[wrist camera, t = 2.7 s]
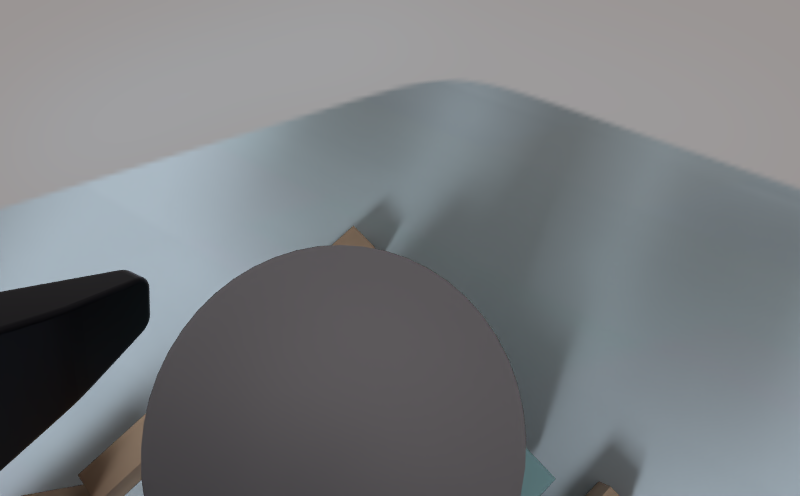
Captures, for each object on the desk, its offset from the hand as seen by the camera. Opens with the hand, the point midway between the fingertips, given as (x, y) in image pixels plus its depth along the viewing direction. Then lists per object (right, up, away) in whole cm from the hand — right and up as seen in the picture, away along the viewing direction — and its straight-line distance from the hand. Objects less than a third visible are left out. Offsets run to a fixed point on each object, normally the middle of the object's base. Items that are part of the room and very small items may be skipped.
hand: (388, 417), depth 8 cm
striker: (+1, -3, +8) cm, 8 cm away
